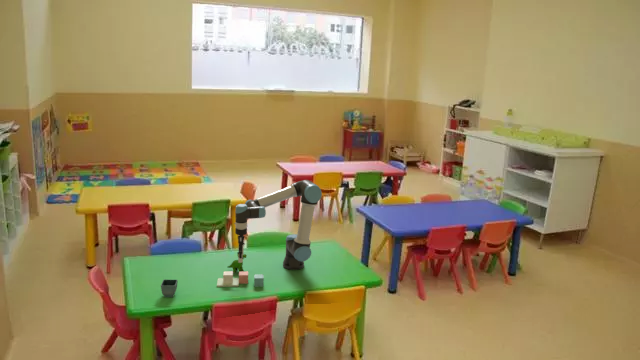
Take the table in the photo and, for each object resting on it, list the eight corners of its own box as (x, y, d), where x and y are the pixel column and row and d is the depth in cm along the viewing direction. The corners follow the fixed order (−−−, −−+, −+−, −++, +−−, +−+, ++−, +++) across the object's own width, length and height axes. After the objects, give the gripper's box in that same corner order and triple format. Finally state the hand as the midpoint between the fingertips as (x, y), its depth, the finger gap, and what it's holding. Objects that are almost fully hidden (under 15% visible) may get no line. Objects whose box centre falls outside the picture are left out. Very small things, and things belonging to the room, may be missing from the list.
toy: (244, 274, 367) (244, 253, 363) (225, 271, 370) (225, 251, 366) (247, 270, 373) (247, 250, 369) (228, 268, 375) (228, 248, 372)
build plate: (239, 279, 359) (239, 269, 357) (238, 286, 348) (238, 276, 346) (217, 279, 357) (217, 269, 355) (216, 286, 346) (216, 276, 345)
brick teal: (263, 282, 355) (263, 274, 354) (263, 286, 350) (263, 278, 348) (254, 282, 355) (254, 274, 353) (254, 286, 349) (254, 278, 347)
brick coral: (248, 279, 359) (248, 271, 357) (248, 283, 353) (248, 275, 352) (239, 279, 358) (239, 271, 357) (238, 283, 352) (238, 275, 351)
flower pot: (175, 299, 328) (175, 285, 326) (160, 299, 327) (160, 285, 325) (178, 292, 336) (177, 279, 334) (163, 292, 336) (163, 279, 333)
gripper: (236, 221, 359) (236, 251, 365) (234, 234, 335) (234, 265, 340) (247, 221, 360) (247, 251, 365) (246, 234, 336) (246, 265, 341)
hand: (240, 258), depth 353 cm, fingers open, 13 cm apart
